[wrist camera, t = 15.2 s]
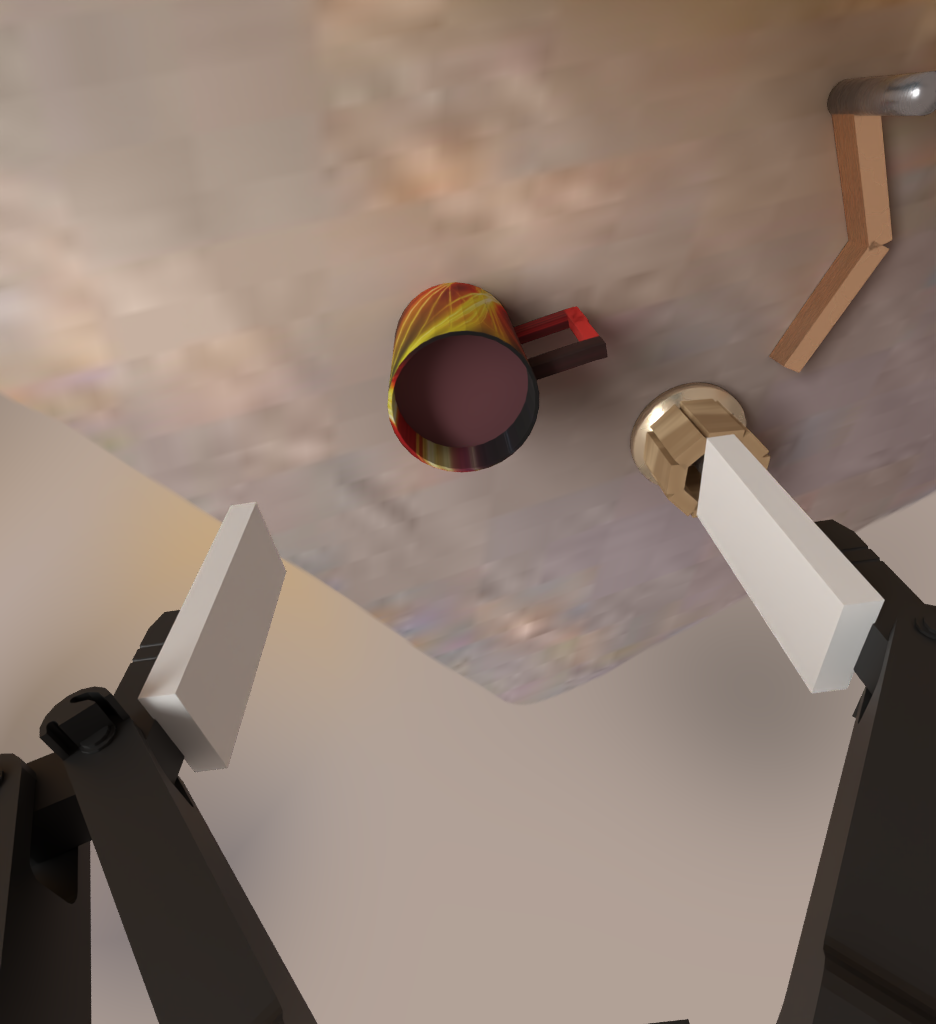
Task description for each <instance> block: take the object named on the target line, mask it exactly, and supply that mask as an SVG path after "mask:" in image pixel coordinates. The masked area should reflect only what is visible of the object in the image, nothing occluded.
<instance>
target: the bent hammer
mask: <svg viewBox="0 0 936 1024" xmlns="http://www.w3.org/2000/svg"><path fill="white" fill-rule="evenodd" d="M827 107H828V110H829V112H830V113H831V114H832V120H833V127H834V135H835V142H836V150H837V157H838V165H839V172H840V180H841V187H842V195H843V202H844V210H845V217H846V224H847V232H848V239H849V241H848V242H847V244H846V245H845V246H844V248H843V249H842V251H841V252H840V254H839V255H838V257H837V258H836V260H835V261H834V262H833V264H832V265H831V267H830V268H829V270H828V271H827V273H826V274H825V276H824V277H823V278H822V280H821V281H820V283H819V284H818V286H817V287H816V289H815V290H814V292H813V293H812V294H811V296H810V297H809V299H808V300H807V302H806V303H805V305H804V306H803V308H802V309H801V310H800V312H799V313H798V315H797V316H796V318H795V319H794V321H793V322H792V324H791V325H790V326H789V328H788V329H787V331H786V332H785V334H784V335H783V337H782V338H781V340H780V341H779V342H778V344H777V345H776V347H775V348H774V350H773V351H772V353H771V354H770V356H769V357H771V358H772V359H774V360H775V361H777V362H778V363H780V364H781V365H783V366H784V367H786V368H789V369H791V370H794V371H796V372H798V373H799V372H800V371H801V370H802V368H803V367H804V365H805V364H806V363H807V361H808V360H809V359H810V357H811V356H812V354H813V353H814V352H815V350H816V349H817V348H818V346H819V345H820V344H821V342H822V341H823V339H824V338H825V337H826V335H827V334H828V333H829V331H830V330H831V328H832V327H833V326H834V324H835V323H836V322H837V320H838V319H839V317H840V316H841V315H842V313H843V312H844V311H845V309H846V308H847V306H848V305H849V304H850V302H851V301H852V300H853V298H854V297H855V295H856V294H857V293H858V291H859V290H860V289H861V287H862V286H863V284H864V283H865V282H866V280H867V279H868V278H869V276H870V275H871V273H872V272H873V271H874V269H875V268H876V267H877V265H878V264H879V263H880V261H881V260H882V258H883V257H884V256H885V254H886V253H887V252H888V250H889V249H888V248H887V247H885V246H883V244H885V243H887V242H889V241H891V240H892V230H891V219H890V208H889V197H888V187H887V176H886V165H885V154H884V143H883V132H882V121H881V116H922V115H927V114H930V113H932V112H933V111H935V110H936V71H931V72H920V73H909V74H899V75H888V76H877V77H867V78H856V79H846V80H843V81H841V82H839V83H838V84H837V85H836V86H835V87H834V88H833V89H832V91H831V92H830V95H829V97H828V101H827Z"/></svg>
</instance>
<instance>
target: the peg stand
mask: <svg viewBox="0 0 936 1024" xmlns="http://www.w3.org/2000/svg"><path fill="white" fill-rule="evenodd" d="M701 399H713V400H714V401H715V402H716V401H717V400H718V401H719V402H720V403H721V404H722V405H723V406H724V407H725V408H726V409H727V410H728V411H729V412H730V413H731V414H732V415H733V416H735V417H736V418H737V419H738V420H739V421H740V422H741V423H742V424H743V425H744V426H745V427H746V419H745V414H744V411H743V409H742V407H741V405H740V404H739V403H738V401H737V400H736V399H735V398H733V397H732V396H731V395H730V394H729V393H728V392H727V391H725V390H724V389H722V388H721V387H718V386H716V385H713V384H709V383H688V384H684V385H680V386H677V387H674V388H672V389H670V390H668V391H666V392H664V393H662V394H661V395H659V396H658V397H656V398H655V399H654V400H653V401H652V402H651V403H650V404H649V405H648V406H647V407H646V408H645V409H644V410H643V411H642V413H641V414H640V416H639V417H638V419H637V421H636V423H635V425H634V427H633V430H632V434H631V439H630V449H631V454H632V458H633V460H634V462H635V464H636V465H637V467H638V469H639V470H640V471H641V473H642V474H643V475H644V476H645V477H646V478H647V479H648V480H650V481H651V482H653V483H655V484H657V485H659V484H658V483H657V481H656V480H655V478H654V477H653V475H652V473H651V472H650V470H649V469H648V467H647V466H646V464H645V463H646V462H645V461H644V459H643V457H644V449H645V441H646V433H647V432H648V431H653V430H652V429H651V428H650V426H651V425H652V424H653V423H654V422H655V421H656V420H657V419H658V418H660V417H661V416H662V415H663V414H664V413H665V412H666V411H667V410H669V409H670V408H671V407H672V406H673V405H674V404H675V405H676V406H677V407H678V408H680V402H681V401H689V400H701ZM704 456H705V454H703V455H702V456H701V457H700V458H699V459H697V460H696V461H695V462H694V463H693V464H691V465H690V466H695V467H696V469H697V470H698V471H699V472H700V474H701V475H702V471H703V463H704Z"/></svg>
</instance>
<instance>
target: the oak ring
mask: <svg viewBox="0 0 936 1024" xmlns="http://www.w3.org/2000/svg"><path fill="white" fill-rule="evenodd" d="M650 428H651V429H652V430H653V431H648V432H647V433H646V441H645V449H644V457H643V459H644V461H645V462H646V463H645V464H646V466H647V467H648V469H649V470H650V472H651V473H652V475H653V477H654V478H655V480H656V481H657V483H658V484H659V486H660V487H661V489H662V490H663V492H664V494H665V495H666V497H667V498H668V499H669V500H670V501H671V502H672V503H673V504H674V505H675V506H677V507H678V508H679V509H680V510H681V511H682V512H683V513H685V514H686V515H687V516H689V515H690V514H691V515H692V517H693V518H695V517H698V516H697V508H698V501H699V493H700V486H701V478H702V475H701V474H700V472H699V471H698V470H697V469H696V467H695V466H690V465H691V464H693V463H694V462H695V461H696V460H697V459H699V458H700V457H701V456H702V455H703V454H705V448H706V441H707V438H710V437H717V436H724V435H731V434H734V435H735V436H736V437H737V438H738V439H739V440H740V441H741V442H742V444H743V445H744V446H745V447H746V448H747V449H748V450H749V451H750V452H751V453H752V455H753V456H754V457H755V458H756V459H757V460H758V461H759V462H760V463H761V464H762V466H763V467H764V468H765V469H766V470H767V467H768V464H769V460H770V456H769V455H768V454H767V453H768V452H769V451H768V450H767V449H766V448H765V446H764V445H763V444H762V443H761V442H760V441H759V440H758V439H757V438H756V437H755V436H754V435H753V434H752V433H751V432H750V431H749V430H748V429H747V428H746V427H745V426H744V425H743V424H742V423H741V422H740V421H739V420H738V419H737V418H736V417H735V416H733V415H732V414H731V413H730V412H729V411H728V410H727V409H726V408H725V407H724V406H723V405H722V404H721V403H720V402H719V401H718V400H717V401H716V402H715V401H714V400H713V399H701V400H689V401H681V402H680V408H678V407H677V406H676V405H675V404H674V405H673V406H672V407H671V408H670V409H669V410H667V411H666V412H665V413H664V414H663V415H662V416H661V417H660V418H658V419H657V420H656V421H655V422H654V423H653V424H652V425H651V426H650Z"/></svg>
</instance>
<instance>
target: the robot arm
mask: <svg viewBox="0 0 936 1024" xmlns="http://www.w3.org/2000/svg"><path fill="white" fill-rule="evenodd" d="M697 516H698V518H699V519H700V521H701V522H702V524H703V525H704V527H705V529H706V530H707V532H708V533H709V535H710V536H711V538H712V539H713V541H714V543H715V544H716V546H717V547H718V549H719V550H720V552H721V553H722V555H723V557H724V558H725V560H726V561H727V563H728V564H729V566H730V567H731V569H732V571H733V572H734V574H735V575H736V577H737V578H738V580H739V581H740V583H741V584H742V586H743V588H744V589H745V591H746V592H747V594H748V595H749V597H750V598H751V600H752V602H753V603H754V605H755V606H756V608H757V609H758V611H759V612H760V614H761V616H762V617H763V618H764V620H765V622H766V623H767V625H768V626H769V628H770V630H771V631H772V633H773V634H774V636H775V637H776V639H777V640H778V642H779V644H780V645H781V647H782V648H783V650H784V651H785V653H786V654H787V656H788V657H789V659H790V660H791V662H792V664H793V665H794V667H795V668H796V670H797V671H798V673H799V674H800V676H801V677H802V679H803V681H804V682H805V684H806V685H807V687H808V689H809V690H810V691H811V693H818V692H827V691H835V690H843V689H847V687H848V685H849V683H850V681H851V678H852V676H853V673H854V671H855V672H856V674H857V675H858V676H859V678H860V679H861V681H862V682H863V683H864V684H865V686H866V687H865V689H864V691H863V694H862V696H861V698H860V700H859V703H858V705H857V707H856V709H855V711H854V714H853V717H855V718H856V721H855V724H854V728H853V732H852V736H851V740H850V744H849V748H848V752H847V756H846V759H845V763H844V767H843V771H842V775H841V779H840V783H839V787H838V791H837V795H836V799H835V803H834V807H833V811H832V815H831V819H830V822H829V826H828V830H827V834H826V838H825V842H824V846H823V850H822V854H821V858H820V862H819V866H818V870H817V874H816V878H815V882H814V886H813V890H812V894H811V897H810V901H809V905H808V909H807V913H806V917H805V921H804V925H803V929H802V933H801V937H800V941H799V945H798V949H797V953H796V957H795V961H794V964H793V968H792V972H791V976H790V980H789V984H788V988H787V992H786V996H785V999H784V1003H783V1006H782V1009H781V1012H780V1015H779V1018H778V1020H777V1023H776V1024H936V606H933V605H928V604H924V603H923V602H922V601H921V600H920V599H919V598H918V597H917V596H916V595H915V594H914V593H913V592H912V591H911V589H909V587H907V585H906V584H905V583H904V582H903V581H902V580H901V579H900V578H899V577H898V576H897V575H896V574H895V573H894V572H893V571H892V570H891V569H890V568H889V567H888V566H887V565H886V564H885V563H884V562H883V561H880V558H879V557H878V556H877V555H876V554H875V553H874V552H873V551H872V550H871V549H868V546H867V545H866V544H865V543H864V542H863V541H862V540H861V538H859V537H858V535H857V534H856V533H855V532H854V531H852V530H850V529H848V528H847V527H845V526H843V525H841V524H839V523H838V522H836V521H834V520H825V521H818V522H813V521H812V520H811V518H810V517H809V516H808V515H807V514H806V513H805V512H804V511H803V510H802V509H801V507H800V506H799V505H798V504H797V503H796V502H795V501H794V500H793V499H792V498H791V496H790V495H789V494H788V493H787V492H786V491H785V490H784V489H783V488H782V487H781V485H780V484H779V483H778V482H777V481H776V480H775V479H774V478H773V477H772V476H771V474H770V473H769V472H768V471H767V470H766V469H765V468H764V467H763V466H762V464H761V463H760V462H759V461H758V460H757V459H756V458H755V457H754V456H753V455H752V453H751V452H750V451H749V450H748V449H747V448H746V447H745V446H744V445H743V444H742V442H741V441H740V440H739V439H738V438H737V437H736V436H735V435H734V434H731V435H724V436H717V437H710V438H707V441H706V448H705V456H704V463H703V471H702V478H701V486H700V493H699V501H698V508H697ZM285 574H286V570H285V567H284V565H283V563H282V560H281V558H280V556H279V553H278V551H277V549H276V546H275V544H274V542H273V539H272V537H271V535H270V533H269V530H268V528H267V526H266V523H265V521H264V519H263V516H262V514H261V512H260V509H259V507H258V505H257V502H252V503H245V504H238V505H231V506H230V508H229V510H228V512H227V514H226V516H225V518H224V521H223V523H222V525H221V527H220V529H219V531H218V533H217V535H216V537H215V539H214V541H213V543H212V545H211V548H210V550H209V552H208V554H207V556H206V558H205V560H204V562H203V565H202V566H201V568H200V570H199V572H198V575H197V577H196V579H195V581H194V583H193V585H192V587H191V589H190V591H189V593H188V595H187V597H186V599H185V602H184V604H183V606H182V608H181V610H177V611H170V612H164V614H162V615H161V616H160V617H159V618H158V620H157V621H156V622H155V623H154V624H153V625H152V626H151V627H150V628H149V629H148V631H147V633H146V635H145V637H144V639H143V641H142V642H141V644H140V649H138V650H137V652H136V654H135V656H134V658H133V663H131V664H130V665H129V667H128V669H127V671H126V673H125V675H124V677H123V679H122V681H121V682H120V684H119V686H118V688H117V690H116V692H115V694H114V696H113V695H112V694H111V693H110V692H109V691H108V690H107V689H105V688H102V687H90V688H86V689H81V690H79V691H77V692H75V693H73V694H71V695H69V696H67V697H66V698H65V699H63V700H62V701H61V702H59V703H58V704H57V705H55V706H54V708H53V709H52V710H51V711H50V712H49V713H48V714H47V715H46V717H45V719H44V720H43V722H42V725H41V726H40V738H41V739H42V740H43V741H44V742H45V743H46V744H47V745H48V746H49V747H50V748H51V749H52V750H53V751H54V753H52V754H49V755H47V756H44V757H42V758H39V759H37V760H34V761H32V762H29V763H27V764H26V763H25V762H24V761H22V760H21V759H20V758H19V757H17V756H16V755H14V754H0V1024H91V915H90V914H91V913H90V912H91V909H90V841H91V840H92V841H93V844H94V846H95V849H96V852H97V854H98V857H99V860H100V863H101V866H102V868H103V871H104V874H105V876H106V879H107V882H108V885H109V887H110V890H111V893H112V896H113V898H114V901H115V904H116V907H117V909H118V912H119V915H120V917H121V920H122V923H123V925H124V929H125V931H126V934H127V937H128V940H129V942H130V945H131V948H132V951H133V953H134V956H135V959H136V961H137V964H138V967H139V970H140V972H141V975H142V978H143V981H144V983H145V986H146V989H147V992H148V994H149V997H150V1000H151V1002H152V1005H153V1008H154V1011H155V1013H156V1016H157V1019H158V1022H159V1024H317V1022H316V1020H315V1019H314V1017H313V1015H312V1013H311V1011H310V1009H309V1008H308V1006H307V1004H306V1002H305V1001H304V999H303V997H302V995H301V993H300V991H299V990H298V988H297V986H296V984H295V982H294V981H293V979H292V977H291V975H290V973H289V972H288V970H287V968H286V966H285V964H284V963H283V961H282V959H281V957H280V956H279V954H278V952H277V950H276V948H275V946H274V945H273V943H272V941H271V939H270V937H269V936H268V934H267V932H266V930H265V928H264V927H263V925H262V923H261V921H260V919H259V918H258V916H257V914H256V912H255V910H254V909H253V907H252V905H251V903H250V902H249V900H248V898H247V896H246V894H245V892H244V891H243V889H242V887H241V885H240V883H239V882H238V880H237V878H236V876H235V874H234V873H233V871H232V869H231V867H230V865H229V864H228V862H227V860H226V858H225V856H224V855H223V853H222V851H221V849H220V847H219V845H218V844H217V842H216V840H215V838H214V837H213V835H212V833H211V831H210V829H209V827H208V826H207V824H206V822H205V820H204V818H203V817H202V815H201V813H200V811H199V809H198V808H197V806H196V804H195V802H194V801H193V799H192V797H191V795H190V793H189V791H188V790H187V788H186V786H185V784H184V782H183V781H182V780H181V779H180V777H179V776H178V773H179V770H180V768H181V765H182V762H183V760H184V759H185V760H186V761H187V763H188V764H189V765H190V767H191V768H192V769H193V771H194V772H200V771H208V770H216V769H224V768H228V765H229V762H230V759H231V755H232V752H233V748H234V745H235V742H236V738H237V735H238V732H239V728H240V725H241V721H242V718H243V715H244V711H245V708H246V705H247V701H248V698H249V695H250V691H251V688H252V685H253V681H254V678H255V674H256V671H257V668H258V665H259V661H260V657H261V655H262V651H263V648H264V644H265V641H266V638H267V634H268V631H269V628H270V624H271V621H272V618H273V614H274V611H275V608H276V604H277V601H278V597H279V594H280V591H281V587H282V584H283V581H284V577H285ZM650 1024H689V1020H688V1019H687V1020H677V1021H668V1022H659V1023H650Z"/></svg>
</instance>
